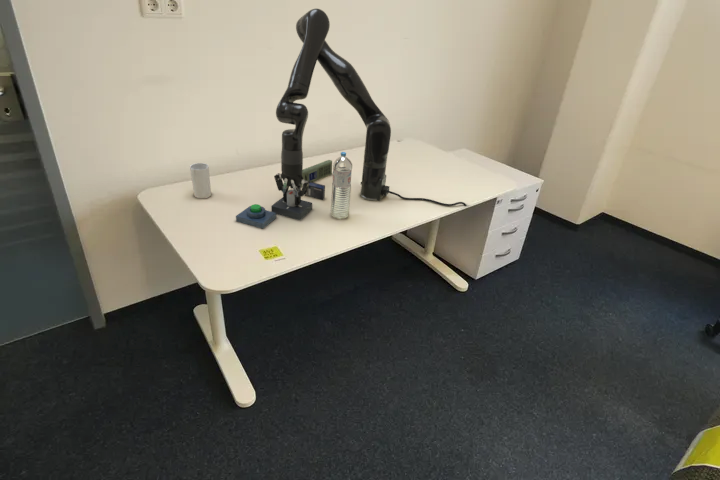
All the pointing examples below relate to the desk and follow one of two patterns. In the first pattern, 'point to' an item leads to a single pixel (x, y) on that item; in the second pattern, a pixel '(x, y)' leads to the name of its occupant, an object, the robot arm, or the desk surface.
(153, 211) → the desk surface
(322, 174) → the handheld radio
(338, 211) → the water bottle
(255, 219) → the housing
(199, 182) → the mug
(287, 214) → the dial panel
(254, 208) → the button
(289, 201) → the program dial
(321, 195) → the mini dv tape
